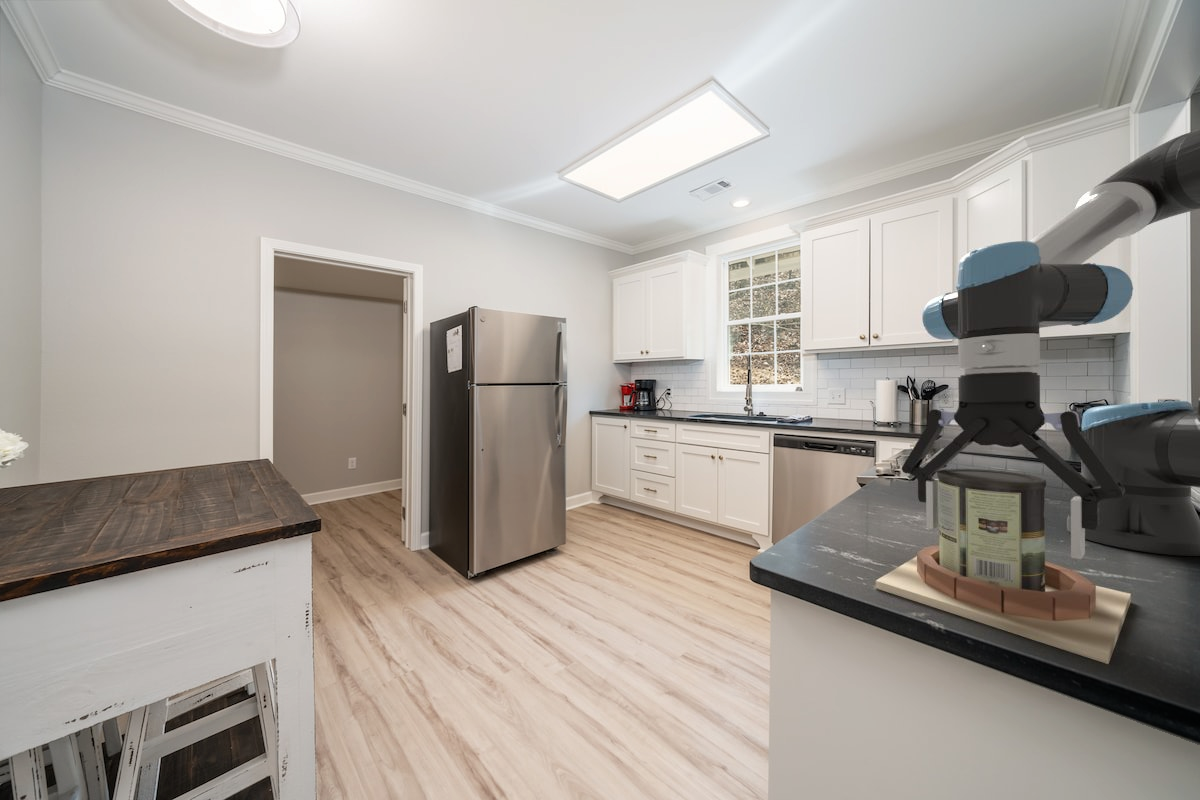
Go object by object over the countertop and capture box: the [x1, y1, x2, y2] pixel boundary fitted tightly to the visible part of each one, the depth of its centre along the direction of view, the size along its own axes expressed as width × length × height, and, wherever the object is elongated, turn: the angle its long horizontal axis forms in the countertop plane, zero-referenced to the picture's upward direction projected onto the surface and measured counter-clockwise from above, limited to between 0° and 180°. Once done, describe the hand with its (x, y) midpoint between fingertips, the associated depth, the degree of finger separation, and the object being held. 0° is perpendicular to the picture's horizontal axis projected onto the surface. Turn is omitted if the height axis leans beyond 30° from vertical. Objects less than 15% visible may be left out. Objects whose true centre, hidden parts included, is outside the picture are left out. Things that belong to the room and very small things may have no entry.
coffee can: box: [936, 468, 1047, 592], centre depth 55 cm, size 10×10×14 cm
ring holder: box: [875, 544, 1132, 665], centre depth 55 cm, size 20×20×4 cm
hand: (998, 540), depth 55 cm, fingers open, 13 cm apart
